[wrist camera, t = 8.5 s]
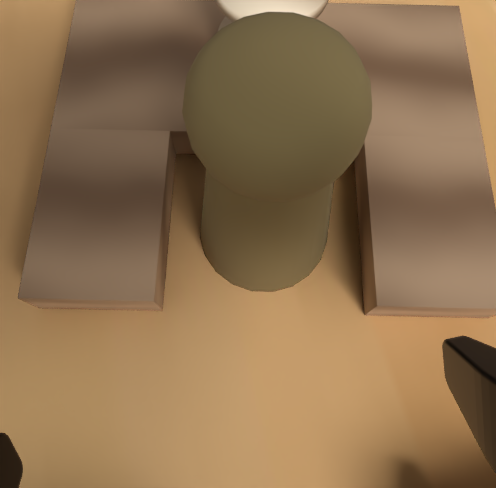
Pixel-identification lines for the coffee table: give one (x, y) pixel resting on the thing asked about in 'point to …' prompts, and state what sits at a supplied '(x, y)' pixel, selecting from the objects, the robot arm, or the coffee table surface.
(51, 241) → the notched board
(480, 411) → the robot arm
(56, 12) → the coffee table surface
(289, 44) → the olive bulb shape
